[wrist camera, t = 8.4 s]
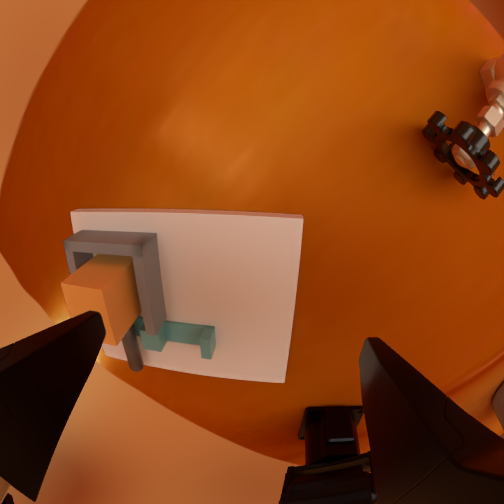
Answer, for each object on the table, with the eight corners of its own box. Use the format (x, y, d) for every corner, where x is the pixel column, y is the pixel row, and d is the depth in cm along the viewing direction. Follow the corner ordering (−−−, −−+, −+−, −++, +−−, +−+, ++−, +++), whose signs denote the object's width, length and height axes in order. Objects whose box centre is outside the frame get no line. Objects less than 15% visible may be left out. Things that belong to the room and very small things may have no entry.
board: (284, 375, 25) (284, 382, 24) (109, 349, 26) (105, 355, 25) (302, 214, 19) (303, 218, 18) (77, 208, 21) (70, 211, 20)
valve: (479, 38, 12) (406, 121, 16) (527, 22, 6) (457, 119, 10) (521, 101, 13) (458, 189, 17) (572, 103, 7) (512, 213, 11)
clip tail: (159, 337, 23) (152, 350, 22) (112, 328, 24) (103, 339, 22) (156, 318, 23) (148, 331, 21) (107, 310, 23) (97, 321, 21)
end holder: (166, 317, 22) (155, 336, 20) (97, 306, 23) (83, 321, 21) (156, 232, 20) (141, 245, 17) (81, 229, 20) (63, 240, 18)
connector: (159, 364, 25) (138, 407, 20) (126, 357, 25) (102, 396, 20) (139, 254, 20) (101, 290, 15) (101, 251, 21) (60, 282, 16)
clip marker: (215, 345, 23) (211, 359, 21) (159, 337, 23) (152, 350, 22) (214, 326, 22) (209, 340, 21) (156, 318, 23) (148, 331, 21)
